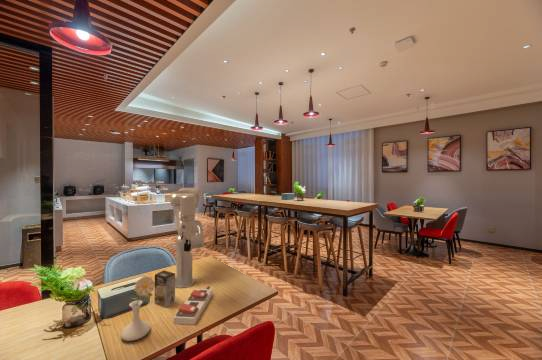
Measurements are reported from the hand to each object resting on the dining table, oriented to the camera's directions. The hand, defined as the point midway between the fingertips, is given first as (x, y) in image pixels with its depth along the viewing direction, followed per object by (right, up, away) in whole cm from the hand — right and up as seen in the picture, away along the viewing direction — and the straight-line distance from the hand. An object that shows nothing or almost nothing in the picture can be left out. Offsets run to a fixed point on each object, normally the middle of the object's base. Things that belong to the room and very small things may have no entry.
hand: (187, 250), depth 130 cm
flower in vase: (-12, -29, -26) cm, 41 cm away
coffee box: (-12, -28, -1) cm, 30 cm away
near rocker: (+6, -24, -15) cm, 29 cm away
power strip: (+6, -28, -1) cm, 29 cm away
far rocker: (+6, -24, -2) cm, 25 cm away
